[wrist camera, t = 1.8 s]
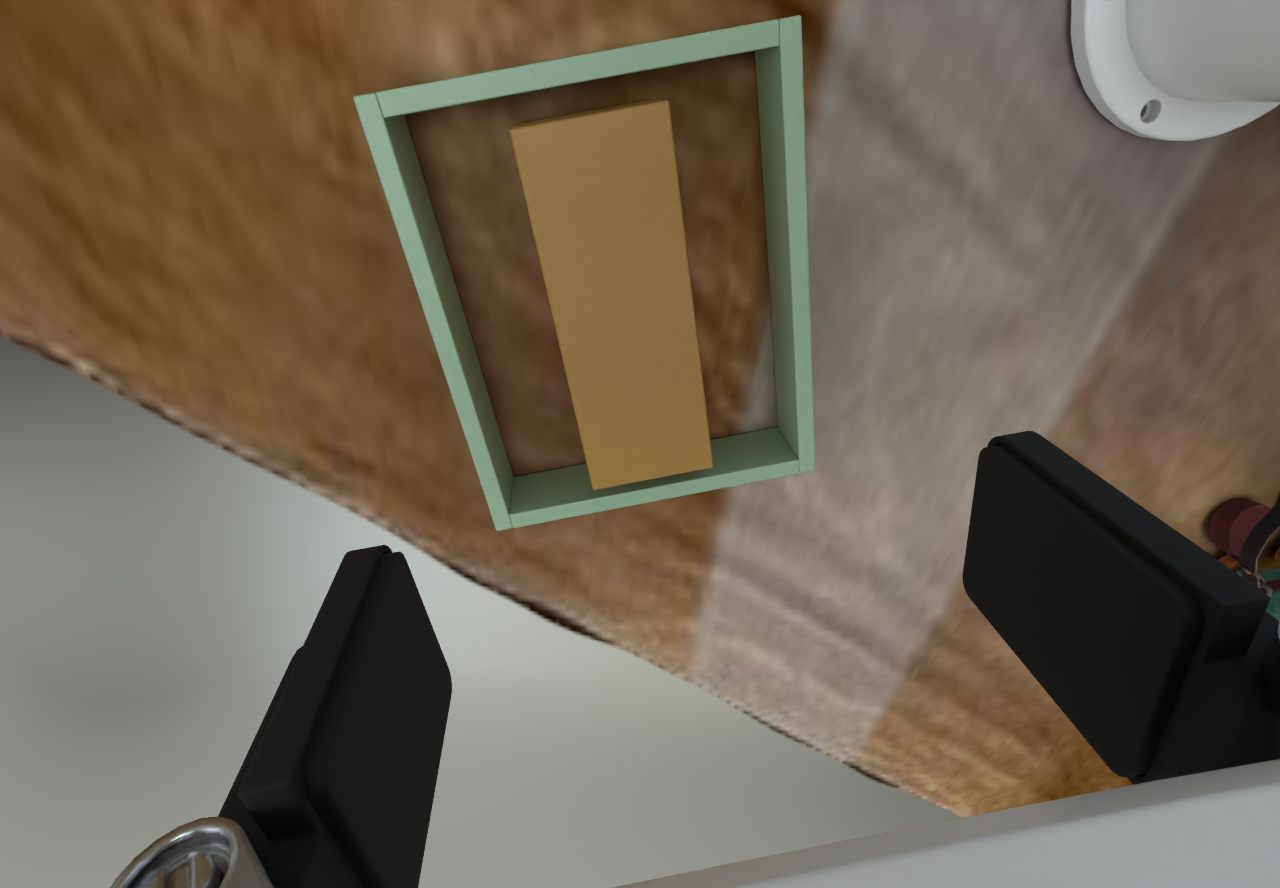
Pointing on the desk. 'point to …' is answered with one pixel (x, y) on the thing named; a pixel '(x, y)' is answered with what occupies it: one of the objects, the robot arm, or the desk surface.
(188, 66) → the desk surface
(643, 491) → the green rectangular open frame
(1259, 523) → the binoculars
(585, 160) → the tan wooden plank
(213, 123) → the desk surface
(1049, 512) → the robot arm
